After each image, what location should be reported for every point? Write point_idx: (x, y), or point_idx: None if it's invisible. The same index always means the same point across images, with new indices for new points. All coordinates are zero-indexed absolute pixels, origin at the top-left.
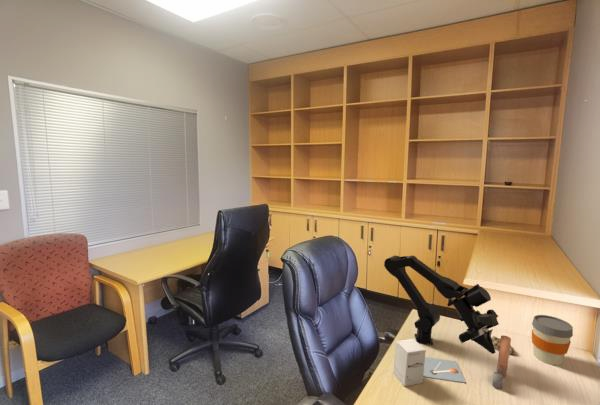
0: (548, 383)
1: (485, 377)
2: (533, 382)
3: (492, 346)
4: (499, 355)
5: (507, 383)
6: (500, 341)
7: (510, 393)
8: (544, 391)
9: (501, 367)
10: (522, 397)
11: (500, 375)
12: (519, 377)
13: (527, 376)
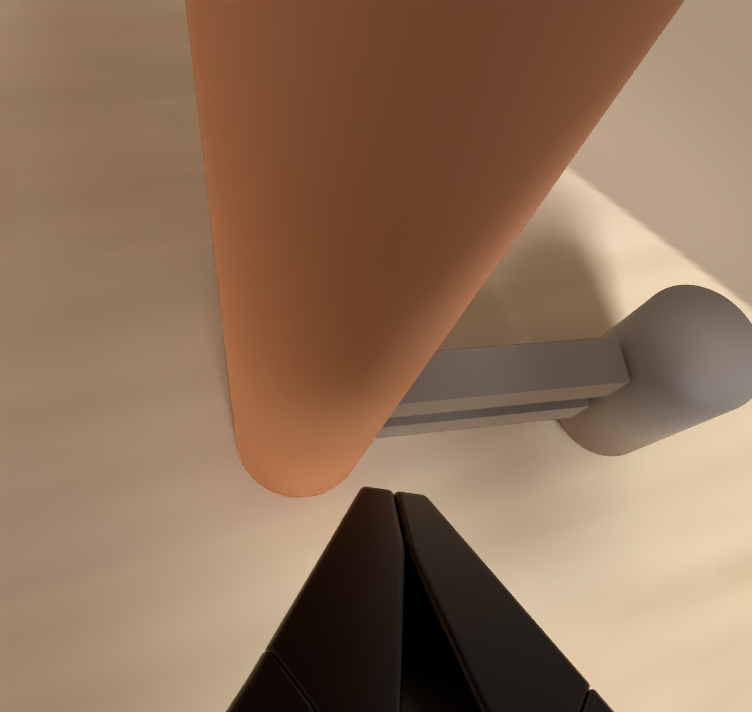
0: (25, 11)
1: (537, 573)
2: (140, 126)
3: (399, 583)
4: (411, 381)
5: None
6: (519, 186)
7: (580, 269)
8: None
9: (425, 373)
10: None
11: (696, 315)
12: (155, 255)
13: (45, 189)
